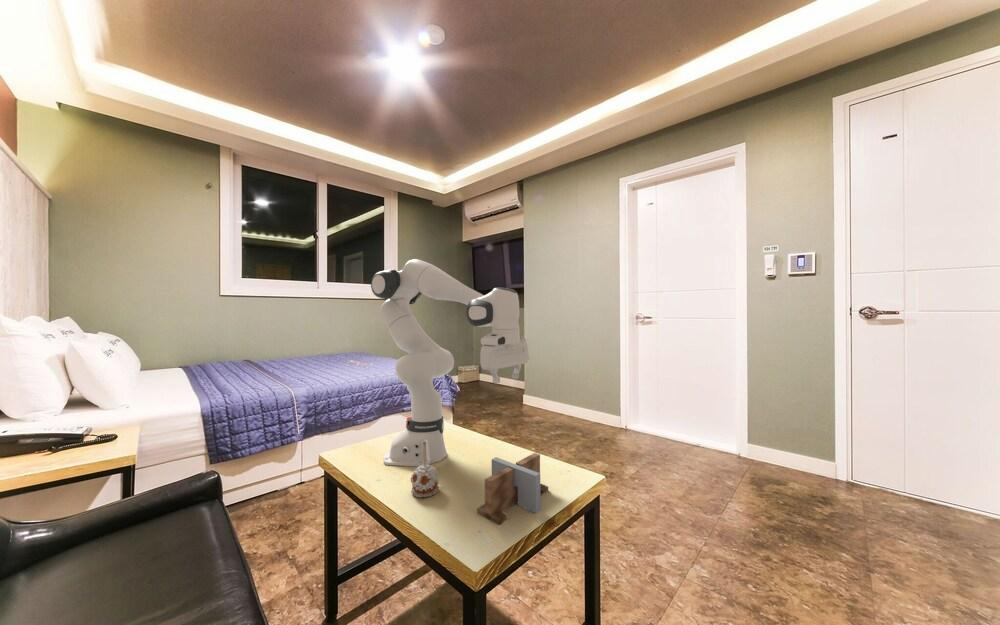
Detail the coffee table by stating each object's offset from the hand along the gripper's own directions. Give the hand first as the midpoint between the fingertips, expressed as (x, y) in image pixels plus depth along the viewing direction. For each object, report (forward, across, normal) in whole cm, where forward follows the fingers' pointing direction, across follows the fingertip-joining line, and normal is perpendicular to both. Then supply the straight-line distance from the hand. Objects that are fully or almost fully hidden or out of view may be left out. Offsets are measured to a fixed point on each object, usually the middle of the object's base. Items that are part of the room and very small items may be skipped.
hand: (506, 380), depth 115 cm
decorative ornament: (+31, +23, -12) cm, 41 cm away
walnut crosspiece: (+31, +10, +11) cm, 35 cm away
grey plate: (+31, +10, +11) cm, 35 cm away
